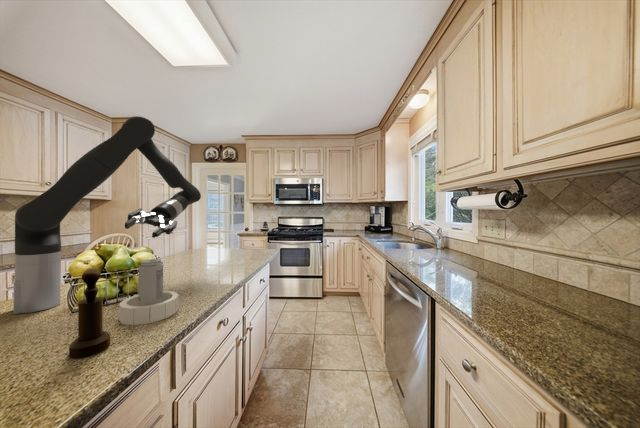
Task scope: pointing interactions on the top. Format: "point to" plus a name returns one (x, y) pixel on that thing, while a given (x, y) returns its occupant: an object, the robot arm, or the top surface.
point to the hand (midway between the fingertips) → (139, 231)
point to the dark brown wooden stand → (90, 321)
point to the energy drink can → (150, 282)
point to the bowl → (147, 309)
